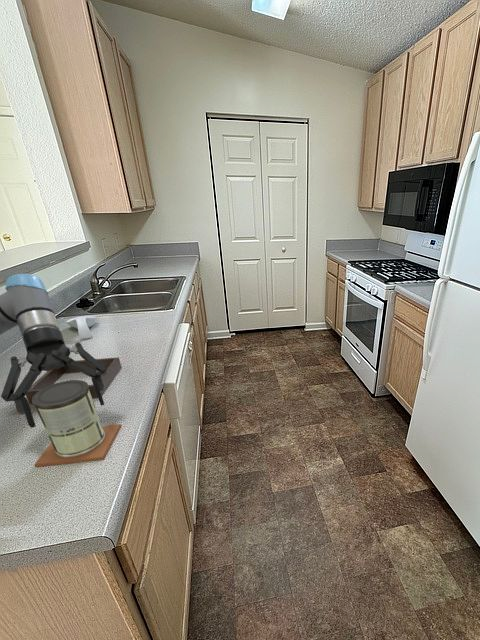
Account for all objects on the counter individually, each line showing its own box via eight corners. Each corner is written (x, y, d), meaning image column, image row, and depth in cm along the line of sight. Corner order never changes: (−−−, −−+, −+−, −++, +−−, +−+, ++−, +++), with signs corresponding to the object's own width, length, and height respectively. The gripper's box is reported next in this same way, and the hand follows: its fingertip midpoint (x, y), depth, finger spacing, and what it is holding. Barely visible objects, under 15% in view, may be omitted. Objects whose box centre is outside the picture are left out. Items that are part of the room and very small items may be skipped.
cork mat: (35, 467, 72) (34, 464, 72) (62, 432, 83) (61, 429, 82) (103, 459, 74) (102, 456, 74) (121, 426, 84) (120, 423, 84)
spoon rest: (68, 325, 152) (63, 310, 149) (97, 320, 158) (93, 306, 154) (71, 342, 134) (65, 325, 131) (103, 336, 140) (98, 319, 137)
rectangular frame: (29, 403, 94) (24, 391, 93) (62, 372, 111) (58, 361, 109) (100, 397, 97) (96, 385, 95) (121, 367, 114) (118, 357, 112)
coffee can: (44, 449, 76) (20, 397, 70) (87, 424, 84) (69, 376, 78) (72, 463, 72) (50, 409, 65) (115, 435, 80) (98, 385, 74)
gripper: (101, 329, 89) (127, 400, 85) (-21, 354, 76) (4, 439, 72) (99, 315, 83) (127, 391, 79) (-34, 339, 70) (-8, 432, 66)
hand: (69, 414), depth 75 cm, fingers open, 13 cm apart
